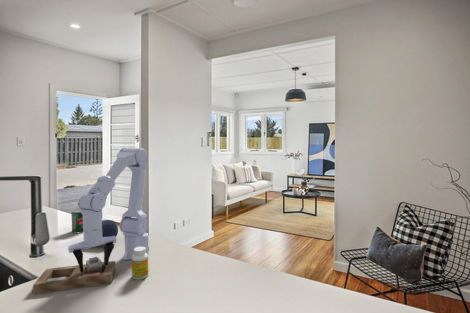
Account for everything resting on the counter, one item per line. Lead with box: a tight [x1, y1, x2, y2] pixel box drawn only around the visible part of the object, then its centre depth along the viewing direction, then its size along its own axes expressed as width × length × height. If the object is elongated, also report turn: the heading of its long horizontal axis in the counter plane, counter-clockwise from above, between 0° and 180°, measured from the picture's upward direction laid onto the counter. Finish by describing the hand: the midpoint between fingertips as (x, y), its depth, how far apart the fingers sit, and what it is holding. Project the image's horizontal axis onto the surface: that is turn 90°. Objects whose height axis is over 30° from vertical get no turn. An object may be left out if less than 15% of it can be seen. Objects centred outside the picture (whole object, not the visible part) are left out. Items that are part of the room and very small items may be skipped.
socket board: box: [32, 260, 116, 295], centre depth 94 cm, size 22×11×3 cm, turn 107°
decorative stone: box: [102, 219, 119, 238], centre depth 127 cm, size 12×12×10 cm
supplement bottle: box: [131, 247, 149, 280], centre depth 96 cm, size 5×5×10 cm
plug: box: [85, 256, 102, 274], centre depth 95 cm, size 4×4×7 cm
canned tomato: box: [70, 208, 83, 233], centre depth 145 cm, size 8×8×11 cm
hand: (94, 267), depth 95 cm, fingers open, 7 cm apart
